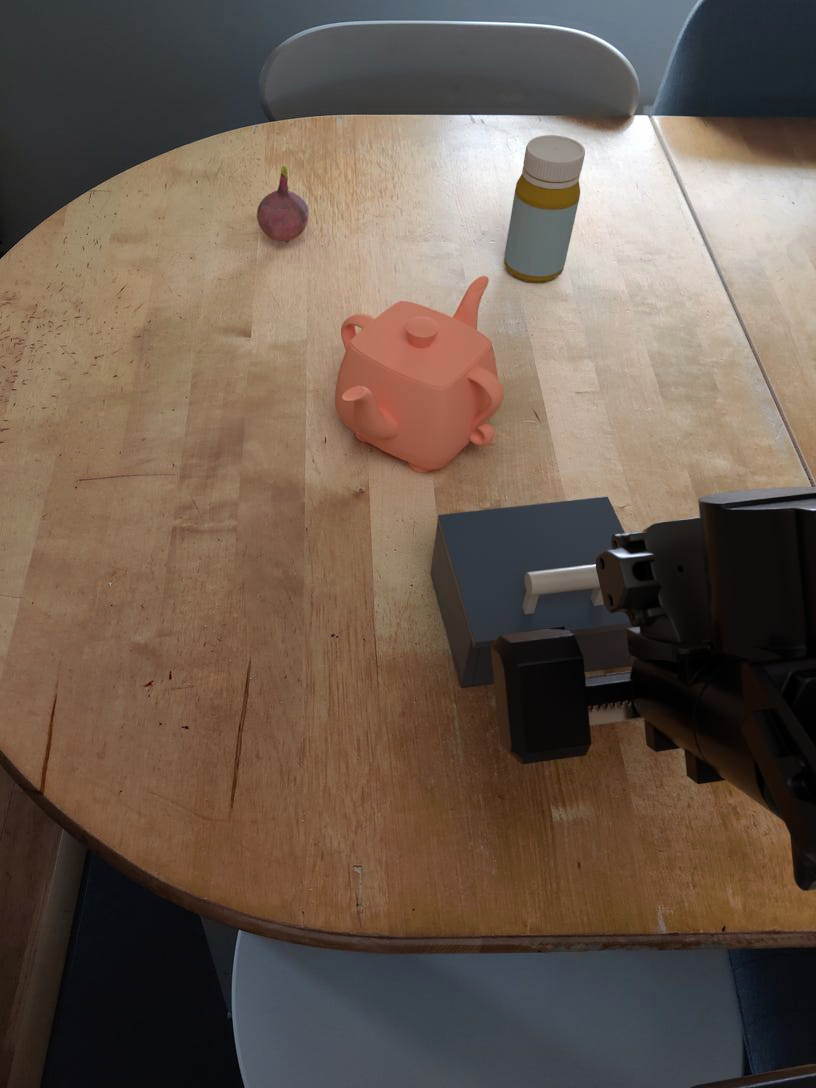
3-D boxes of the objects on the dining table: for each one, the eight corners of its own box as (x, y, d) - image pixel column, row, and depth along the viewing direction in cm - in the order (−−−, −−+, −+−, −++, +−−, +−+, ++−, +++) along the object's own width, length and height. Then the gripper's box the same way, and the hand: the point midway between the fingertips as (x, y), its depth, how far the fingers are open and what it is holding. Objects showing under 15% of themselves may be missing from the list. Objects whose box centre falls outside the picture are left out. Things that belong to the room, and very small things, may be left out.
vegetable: (308, 257, 106) (306, 181, 99) (256, 257, 106) (251, 181, 99) (310, 230, 110) (308, 155, 103) (260, 229, 110) (255, 154, 103)
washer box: (634, 665, 67) (658, 615, 63) (460, 688, 66) (471, 639, 61) (587, 555, 75) (605, 503, 70) (430, 573, 73) (437, 521, 69)
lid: (662, 624, 62) (682, 584, 59) (473, 648, 61) (482, 608, 57) (605, 502, 70) (619, 460, 66) (437, 521, 69) (442, 479, 65)
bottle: (501, 282, 102) (521, 161, 92) (504, 248, 107) (523, 130, 96) (563, 288, 102) (590, 167, 91) (562, 254, 106) (588, 135, 96)
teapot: (341, 496, 79) (342, 392, 70) (329, 375, 91) (329, 271, 82) (506, 488, 80) (528, 383, 71) (473, 368, 92) (489, 265, 83)
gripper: (936, 515, 39) (741, 493, 55) (531, 563, 38) (447, 526, 53) (957, 761, 40) (757, 670, 55) (556, 821, 38) (465, 710, 53)
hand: (609, 640), depth 54 cm, fingers open, 9 cm apart
